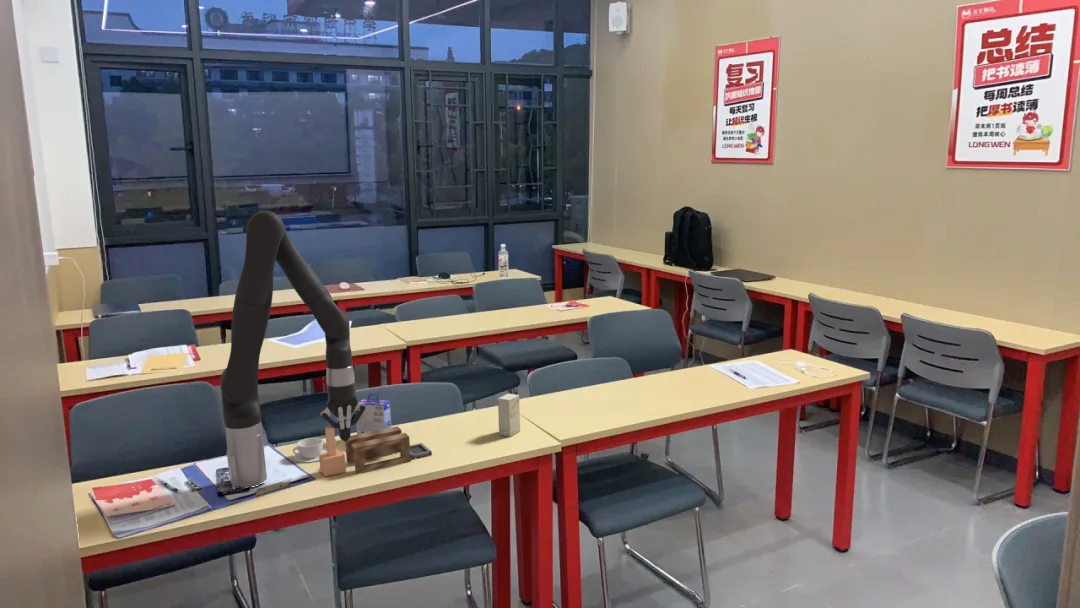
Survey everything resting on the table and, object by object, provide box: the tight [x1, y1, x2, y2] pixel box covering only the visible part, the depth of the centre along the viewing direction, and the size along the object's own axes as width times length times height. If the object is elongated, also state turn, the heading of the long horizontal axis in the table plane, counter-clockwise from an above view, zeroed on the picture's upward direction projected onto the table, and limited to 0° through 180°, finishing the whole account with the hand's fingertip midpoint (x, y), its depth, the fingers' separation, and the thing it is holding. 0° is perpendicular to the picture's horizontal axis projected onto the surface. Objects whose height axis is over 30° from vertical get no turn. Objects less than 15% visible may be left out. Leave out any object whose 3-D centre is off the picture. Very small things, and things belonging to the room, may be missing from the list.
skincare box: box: [497, 393, 521, 437], centre depth 243 cm, size 6×4×12 cm
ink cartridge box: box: [354, 392, 392, 435], centre depth 240 cm, size 10×6×14 cm, turn 78°
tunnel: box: [344, 425, 412, 475], centre depth 223 cm, size 16×10×8 cm, turn 120°
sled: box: [318, 425, 347, 477], centre depth 216 cm, size 6×5×13 cm
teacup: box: [292, 437, 327, 463], centre depth 228 cm, size 10×10×5 cm
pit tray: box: [410, 442, 433, 460], centre depth 229 cm, size 6×8×1 cm
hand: (345, 440), depth 218 cm, fingers closed
